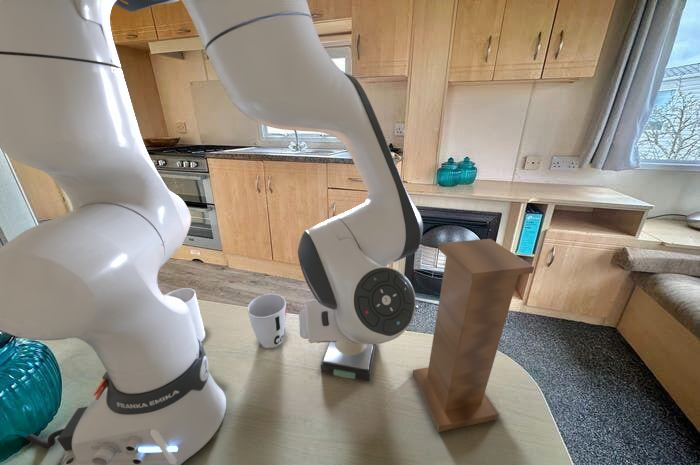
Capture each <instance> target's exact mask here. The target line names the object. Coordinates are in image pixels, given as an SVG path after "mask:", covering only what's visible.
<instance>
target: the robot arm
mask: <svg viewBox="0 0 700 465" xmlns="http://www.w3.org/2000/svg"><path fill="white" fill-rule="evenodd" d="M123 1H124V2H123ZM179 1H181V2H182V5H183V6H184V7H185V9H186V11H187V13H188V15H189V17H190V19H191V21H192V24H193V25H194V27H195V30H196V33H197V34H198V37H199V40H200V42H201V45H202V46H203V49H204V51H205V53H206V56H207V58H208V60H209V62H210V64H211V66H212V68H213V70H214V72H215V74H216V76H217V79H218V80H219V82H220V84H221V86H222V89H223V90H224V92H225V93H226V96H228V98H229V100H230V102H231V103H232V104H233V106H234V107H235V108H236V109H237V110H238V111H240V112H241V113H242V114H243V115H244V116H246V117H247V118H249V119H250V120H252V121H254V122H255V123H258V124H261V125H263V126H265V127H269V128H273V129H278V130H285V131H295V132H296V131H297V132H314V133H321V134H326V135H330V136H332V137H334V138H336V139H337V140H339V141H340V142H341V143H342V144H343V145H344V146H345V148H346V149H347V151H348V153H349V155H350V157H351V160H352V162H353V164H354V166H355V168H356V170H357V172H358V174H359V176H360V178H361V180H362V183H363V185H364V188H365V190H366V191H367V197H366V200H364V202H363V203H361V204H359V205H357V206H355V207H353V208H351V209H349V210H347V211H345V212H343V213H340V214H337V215H336V216H333V217H331V218H329V219H326V220H324V221H322V222H320V223H318V224H316V225H314V226H311V227H309V228H308V229H305V230H304V231H303V233H302V235H301V236H300V240H299V243H298V247H297V258H298V262H299V266H300V270H301V273H302V275H303V278H304V280H305V282H306V284H307V286H308V289H309V290H310V292H311V293H312V295H313V297H314V298H313V299H309V300H307V301H306V302H305V307H303V308H301V310H300V311H299V313H298V328H299V337H300V338H302V339H305V340H307V341H308V343H310V344H315V343H316V344H320V343H329V342H337V341H338V342H344V343H349V344H352V343H355V344H376V345H379V344H385V343H389V342H391V341H394V340H396V339H397V338H399V337H400V336H402V335H403V334H404V333H405V332H406V330H407V329H408V328H409V326H410V325H411V323H412V322H413V319H414V317H415V313H416V312H417V311H419V308H420V306H419V304H416V303H417V300H416V293H415V288H414V287H413V285H412V283H411V282H410V281H411V280H409V278H407V276H406V275H405V274H404V273H402V271H400V270H398V269H396V268H393V267H390V266H388V265H390V264H393V263H396V262H398V261H400V260H402V259H404V258H407V257H409V256H411V255H413V254H415V253H416V252H417V251H419V250H418V249H419V248H420V245H421V242H422V238H423V233H424V222H423V219H422V216H421V214H420V211H419V210H418V208H417V207H416V204H415V203H414V201H413V200H412V198H411V196H410V195H409V192H408V191H407V189H406V187H405V184H404V182H403V180H402V176H401V174H400V172H399V169H398V167H397V164H396V162H395V159H394V157H393V154H392V152H391V148H390V147H389V144H388V142H387V139H386V136H385V135H384V132H383V129H382V127H381V124H380V122H379V120H378V118H377V115H376V112H375V111H374V108H373V106H372V104H371V101H370V99H369V97H368V95H367V94H366V92H365V89H364V88H363V86H362V85H361V83H360V82H359V81H358V79H357V78H356V77H355V76H353V75H351V74H348V73H346V72H343V71H342V70H341V69H340V68H339V66H337V64H336V63H335V62H334V60H333V59H332V57H330V54H329V53H328V51H327V50H326V48H325V47H324V45H323V43H322V41H321V39H320V37H319V34H318V32H317V29H316V26H315V24H314V20H313V16H312V14H311V10H310V6H309V4H308V0H0V150H1V151H2V152H3V153H4V154H5V155H7V156H8V157H10V158H11V159H12V160H14V161H16V162H18V163H20V164H21V165H24V166H27V167H30V168H31V169H32V168H33V169H37V170H40V171H42V172H44V173H45V174H46V175H48V176H49V177H50V178H51V179H52V180H54V182H56V184H57V185H58V186H59V187H60V188H61V189H62V190H63V191H64V193H65V194H66V196H67V197H68V199H69V201H70V202H71V205H72V210H71V211H69V212H66V213H64V214H62V215H59V216H56V217H54V218H51V219H49V220H47V221H44V222H42V223H40V224H37V225H35V226H33V227H32V226H31V227H29V228H28V229H25V230H24V231H23V232H21V233H19V234H18V235H16V236H15V237H14V238H12V239H11V240H9V241H7V242H6V243H4V244H3V245H2V246H0V331H1V332H3V333H6V334H9V335H11V336H14V337H16V338H17V337H18V338H21V339H26V340H33V341H62V340H67V339H76V340H80V341H82V342H84V343H86V344H87V345H88V346H89V347H90V348H92V350H93V351H94V352H95V354H96V355H97V357H98V359H99V361H100V362H101V364H102V366H103V368H104V369H105V373H104V374H103V376H102V380H101V382H100V383H99V384H98V386H97V388H95V391H94V393H93V397H94V398H93V399H92V401H91V402H90V403H89V404H88V406H82V407H78V408H76V411H75V412H74V413H73V415H72V417H71V418H70V420H68V423H67V424H66V425H65V426H64V428H61V429H57V430H55V431H54V432H52V433H50V434H49V436H48V437H47V440H45V439H43V438H40V436H39V437H38V436H37V435H36V434H33V433H31V434H29V435H28V436H27V437H26V438H25V439H24V440H27V441H28V442H31V443H33V444H35V445H37V446H40V447H41V448H51V447H53V446H54V445H55V444H56V440H57V441H58V442H59V444H60V445H61V447H62V448H63V450H64V451H65V454H64V456H63V459H62V461H61V463H60V465H183V463H184V462H186V461H187V460H188V459H189V458H191V457H192V456H194V455H195V454H196V453H197V452H199V451H200V450H201V449H202V448H204V446H206V445H207V443H208V442H209V441H210V440H211V439H212V438H213V437H214V436H215V434H216V433H217V431H218V429H219V428H220V427H221V425H222V423H223V420H224V417H225V415H226V410H227V397H226V394H225V392H224V391H223V390H222V388H221V387H220V386H219V385H218V384H217V383H216V381H215V379H214V378H213V377H212V374H211V372H210V366H209V360H208V357H207V355H206V350H205V348H204V345H203V341H202V342H201V340H200V339H199V338H198V337H197V335H196V332H195V328H194V325H193V321H192V318H191V314H190V311H189V308H188V306H187V305H186V303H185V302H183V301H182V300H181V299H179V298H176V297H173V296H168V295H166V294H163V293H162V292H161V290H160V288H159V285H158V274H159V271H160V269H161V268H163V266H164V265H165V264H166V263H167V262H168V261H169V260H170V259H171V258H172V257H173V256H174V255H175V254H176V252H178V250H179V249H180V248H181V247H182V246H183V243H184V242H185V240H186V238H187V235H188V233H189V230H190V227H191V224H192V216H191V212H190V209H189V208H188V206H187V204H186V202H185V201H184V200H183V199H182V198H181V197H180V196H179V195H177V194H176V193H174V192H173V191H171V190H170V189H169V188H168V186H167V185H166V183H165V182H164V180H163V178H162V177H161V175H160V173H159V171H158V170H157V168H156V166H155V164H154V162H153V161H152V159H151V157H150V154H149V152H148V151H147V148H146V145H145V142H144V140H143V138H142V135H141V131H140V128H139V124H138V121H137V117H136V115H135V111H134V108H133V104H132V101H131V97H130V93H129V91H128V87H127V83H126V81H125V77H124V76H125V75H124V73H123V69H122V65H121V62H120V59H119V55H118V52H117V48H116V44H115V42H114V37H113V34H112V29H111V28H112V27H111V20H110V17H111V11H112V8H113V7H114V5H116V6H118V7H119V8H120V9H123V10H125V11H128V12H137V11H140V10H141V11H142V10H144V9H146V8H150V7H153V6H159V5H166V4H173V3H176V2H179ZM125 2H126V3H125ZM56 438H57V439H56Z"/></svg>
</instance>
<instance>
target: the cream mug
mask: <svg viewBox="0 0 700 465" xmlns="http://www.w3.org/2000/svg"><path fill="white" fill-rule="evenodd" d="M366 346H367V344H355V343H352V344H349V343H344V342H338V341H337V342H335V347H336V348H337V350H338V351H339V352H341V353H342V354H345V355H357V354H359V353H361V352H362V351H364V350H365V348H366Z"/></svg>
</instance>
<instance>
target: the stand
mask: <svg viewBox="0 0 700 465" xmlns="http://www.w3.org/2000/svg"><path fill="white" fill-rule="evenodd" d="M437 249H438V250H439V251H440V253H442V254H443V255H444V256H445V262H444V269H443V275H442V281H441V287H440V294H439V299H438V306H437V311H436V318H435V326H434V330H433V337H432V345H431V349H430V356H429V362H428V367H422V368H417V369H413V370H412V377H413V380H414V382H415V384H416V386H417V388H418V390H419V393H420V395H421V397H422V400H423V401H424V403H425V406H426V409H427V411H428V412H429V414H430V417H431V419H432V421H433V423H434V426H435V428H436V430H437V433H440V432H444V431H445V432H446V431H450V430H454V429H458V428H464V427H468V426H473V425H477V424H482V423H487V422H492V421H496V420H498V419H499V415H500V413H499V411H498V410H497V409H496V407H495V405H493V403H492V402H491V400H490V398H489V397H488V396H487V394H486V389H487V386H488V383H489V379H490V377H491V372H492V369H493V365H494V361H495V358H496V356H497V352H498V350H499V349H498V348H499V345H500V342H501V337H502V334H503V331H504V327H505V324H506V320H507V317H508V314H509V310H510V306H511V304H512V299H513V296H514V293H515V289H516V287H517V282H518V279H519V276H520V275H528V274H533V272H534V269H535V266H534V265H532V264H531V263H529V262H528V261H526V260H524V259H523V258H521V257H520V256H518V255H517V254H515V253H513V252H512V251H510V250H509V249H507V248H505V247H504V246H502V245H501V244H499V243H498V242H496V241H495V240H493V239H492V238H484V239H483V238H482V239H472V240H471V239H470V240H461V241H448V242H438V246H437Z"/></svg>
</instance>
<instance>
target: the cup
mask: <svg viewBox="0 0 700 465" xmlns="http://www.w3.org/2000/svg"><path fill="white" fill-rule="evenodd" d="M246 310H247V314H248V319H249V322H250V325H251V328H252V330H253V333H254V336H255V337H256V339H257V340H258V342H259V344H260V345H261V346H262V347H263V348H265V349H274V348H276V347H278V346H279V345H281V344H282V343H283V342H284V336H285V333H286V328H287V301H286V298H284V296H282V295H280V294H276V293H266V294H261V295H259V296H257V297H254V298H253V299H252V300H251V301H250V302H249V303H248V304H247V308H246Z"/></svg>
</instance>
